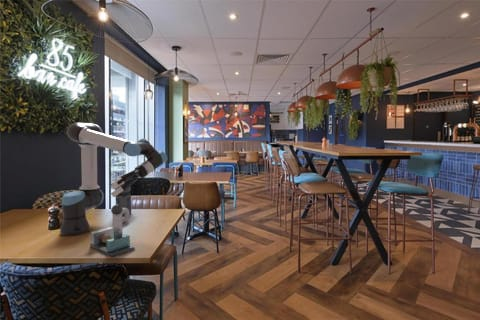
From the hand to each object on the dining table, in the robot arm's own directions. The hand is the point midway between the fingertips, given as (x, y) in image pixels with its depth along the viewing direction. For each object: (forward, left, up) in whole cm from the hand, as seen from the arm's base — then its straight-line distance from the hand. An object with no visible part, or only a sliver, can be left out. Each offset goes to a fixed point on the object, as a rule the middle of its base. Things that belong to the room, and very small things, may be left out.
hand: (112, 191), depth 145 cm
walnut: (+2, -11, -24) cm, 27 cm away
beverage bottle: (-19, +47, -26) cm, 57 cm away
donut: (-9, +27, -26) cm, 39 cm away
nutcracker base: (+7, -13, -26) cm, 30 cm away
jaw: (+12, -17, -24) cm, 32 cm away
